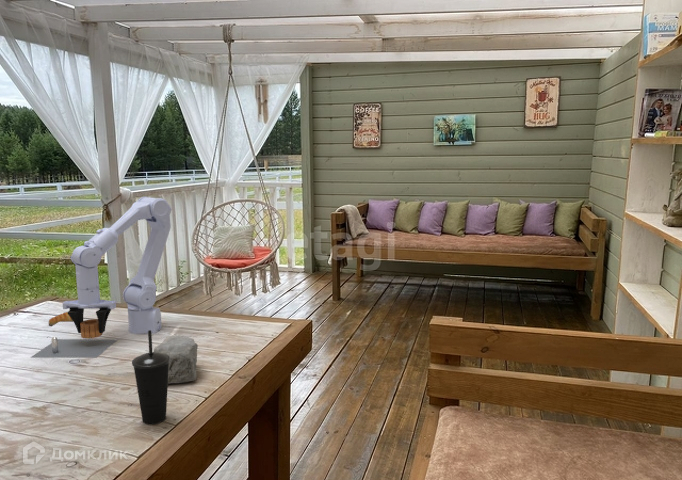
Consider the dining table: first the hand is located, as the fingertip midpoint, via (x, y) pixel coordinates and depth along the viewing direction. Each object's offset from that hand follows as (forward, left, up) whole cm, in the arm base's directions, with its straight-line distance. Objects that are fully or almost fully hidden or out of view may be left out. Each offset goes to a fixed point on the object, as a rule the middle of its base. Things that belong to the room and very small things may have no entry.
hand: (91, 332), depth 149 cm
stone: (-30, +19, -5) cm, 36 cm away
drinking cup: (-32, +41, -5) cm, 52 cm away
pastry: (+20, -23, -6) cm, 31 cm away
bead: (0, 0, -1) cm, 1 cm away
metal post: (+7, +7, -4) cm, 11 cm away
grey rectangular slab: (+3, +4, -5) cm, 7 cm away
